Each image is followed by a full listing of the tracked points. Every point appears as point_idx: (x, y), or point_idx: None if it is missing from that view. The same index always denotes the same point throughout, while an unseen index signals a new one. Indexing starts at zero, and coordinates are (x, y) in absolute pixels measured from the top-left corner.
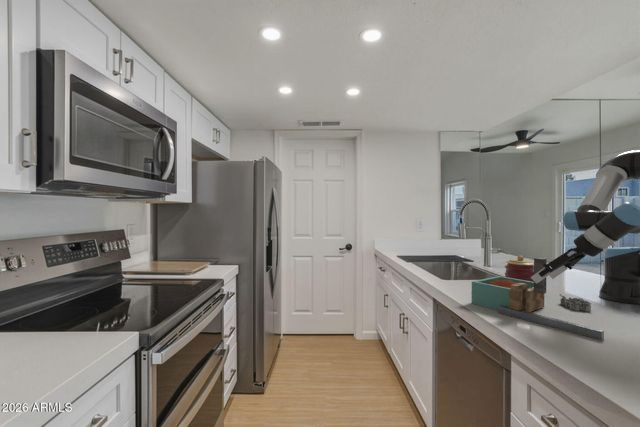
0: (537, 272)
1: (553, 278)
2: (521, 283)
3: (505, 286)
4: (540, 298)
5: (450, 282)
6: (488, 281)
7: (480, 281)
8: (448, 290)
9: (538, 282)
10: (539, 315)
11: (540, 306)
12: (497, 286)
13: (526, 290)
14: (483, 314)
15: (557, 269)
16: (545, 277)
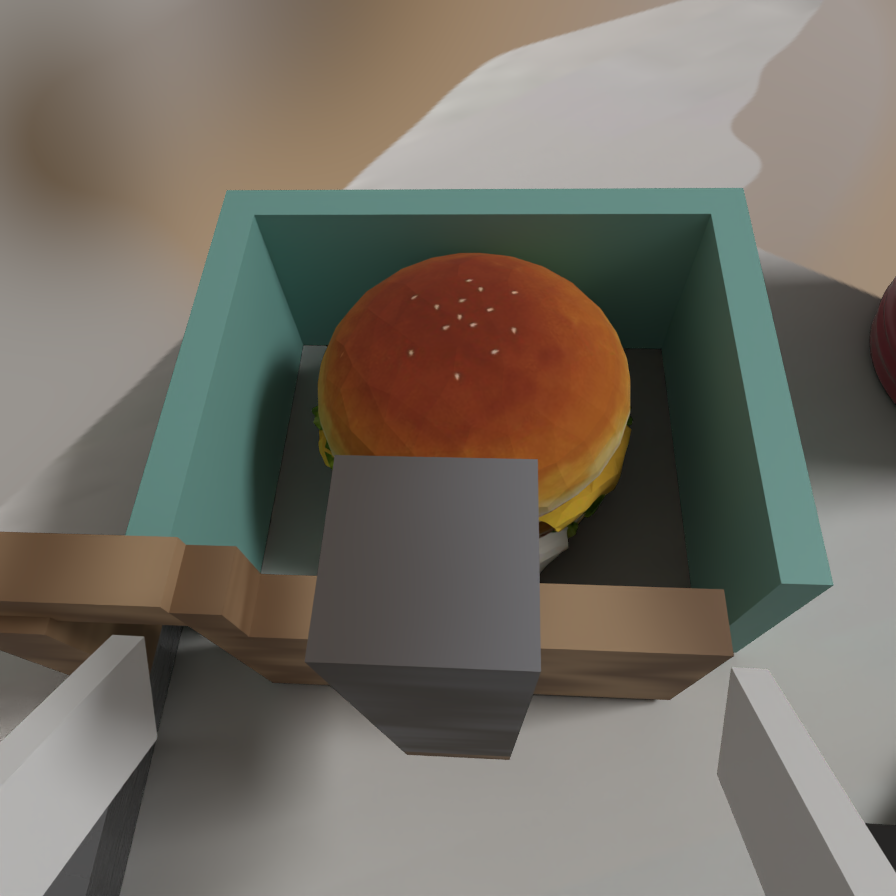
0: (19, 728)
1: (722, 786)
2: (136, 566)
3: (342, 400)
4: (592, 677)
5: (724, 20)
6: (462, 229)
7: (312, 216)
8: (490, 111)
9: (141, 753)
10: (71, 860)
11: (581, 693)
12: (181, 383)
13: (211, 630)
14: (46, 488)
15: (800, 864)
16: (58, 869)
